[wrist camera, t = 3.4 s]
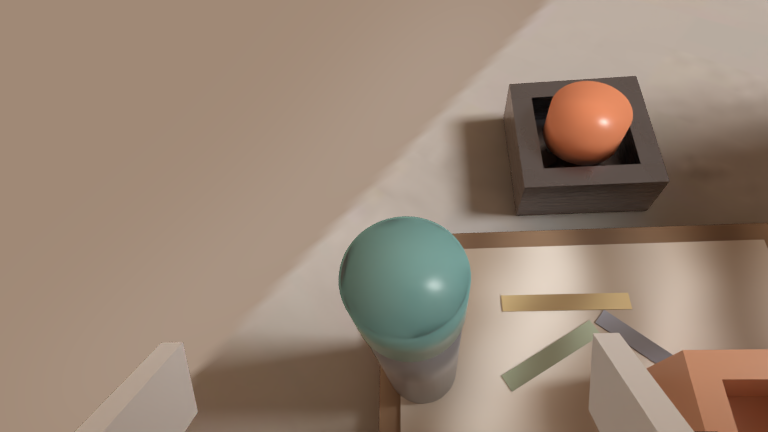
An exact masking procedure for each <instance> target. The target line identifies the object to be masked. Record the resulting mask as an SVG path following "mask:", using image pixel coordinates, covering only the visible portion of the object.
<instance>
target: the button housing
mask: <svg viewBox="0 0 768 432" xmlns="http://www.w3.org/2000/svg"><path fill="white" fill-rule="evenodd" d="M579 81H595V82H600V83H604V84H607V85H610V86H612V87H614V88H615V89H617V90H618V91H620V92H621V93H622V94H623V95H624V96H625V97H626V98H627V99H628V101H629V102H630V104H631V107H632V110H633V119H632V123H631V125H630V127H629V129H628V130H627V132H626V134H625V136H624V138H623V140H622V141H621V143H620V145H619V147H618V149H617V151H616V152H615V153H614V155H612V156H611V157H610V158H609V159H607V160H606V161H604V162H601V163H598V164H594V165H577V164H572V163H569V162H566V161H564V160H562V159H560V158H558V157H557V156H556V155H554V154H553V153H552V152H551V151H550V150H549V148H548V147H547V145H546V144H545V141H544V138H543V127H544V124H545V120H546V117H547V114H548V110H549V107H550V103H551V100H552V98H553V96H554V95H555V94H556V93H557V91H559V90H560V89H561V88H563V87H564V86H566V85H568V84H571V83H574V82H579ZM504 125H505V133H506V140H507V148H508V155H509V163H510V170H511V178H512V185H513V193H514V200H515V208H516V215H539V214H565V213H592V212H618V211H644V210H647V209H648V208H649V207H650V206H651V204H652V203H653V202H654V200H655V199H656V198H657V197H658V195H659V194H660V193H661V192H662V190H663V189H664V188H665V186H666V185H667V184H668V183H669V178H668V175H667V172H666V169H665V165H664V162H663V159H662V156H661V153H660V150H659V147H658V143H657V140H656V137H655V134H654V131H653V128H652V124H651V121H650V118H649V115H648V112H647V109H646V106H645V102H644V99H643V96H642V93H641V90H640V87H639V84H638V80H637V77H636V76H629V77H614V78H598V79H583V80H567V81H552V82H537V83H521V84H509V89H508V95H507V101H506V107H505V112H504Z"/></svg>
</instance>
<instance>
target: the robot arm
mask: <svg viewBox="0 0 768 432" xmlns="http://www.w3.org/2000/svg"><path fill="white" fill-rule="evenodd" d="M589 412H590V414H591V416H592V418H593V420H594V422H595V424H596V426H597V428H598V430H599V432H718V431H693V429H692V428H691V427H690V425H689V424H688V423H687V422H686V420H685V419H684V418H683V416H682V415H681V414H680V412H679V411H678V410H677V408H676V407H675V406H674V404H673V403H672V402H671V400H670V399H669V398H668V397H667V395H666V394H665V393H664V391H663V390H662V389H661V387H660V386H659V385H658V383H657V382H656V381H655V379H654V378H653V377H652V375H651V374H650V373H649V372H648V370H647V369H646V368H645V366H644V365H643V364H642V362H641V361H640V360H639V358H638V357H637V356H636V354H635V353H634V352H633V350H632V349H631V348H630V347H629V345H628V344H627V343H626V341H625V340H624V339H623V337H622V336H621V335H620V333H593V342H592V359H591V375H590V392H589ZM197 413H198V410H197V405H196V400H195V396H194V391H193V386H192V381H191V377H190V372H189V367H188V363H187V358H186V353H185V349H184V344H183V342H161V343H160V344H159V346H157V347H156V349H154V350H153V352H151V353H150V354H149V355H148V357H147V358H146V359H145V360H144V361H143V362H142V363H141V364H140V365H139V366H138V367H137V368H136V369H135V370H134V371H133V372H132V373H131V374H130V375H129V376H128V377H127V378H126V379H125V380H124V381H123V382H122V383H121V384H120V385H119V386H118V388H116V389H115V390H114V391H113V392H112V393H111V395H110V396H109V397H108V398H107V399H106V400H105V401H104V402H103V403H102V404H101V405H100V406H99V407H98V408H97V409H96V410H95V411H94V412H93V413H92V414H91V415H90V416H89V417H88V418H87V419H86V420H85V421H84V422H83V423H82V424H81V425H80V427H78V428H77V429H76V431H74V432H185V431H186V429H187V428H188V426H189V425H190V423H191V422H192V420H193V419H194V417H195V416H196V414H197Z"/></svg>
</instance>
